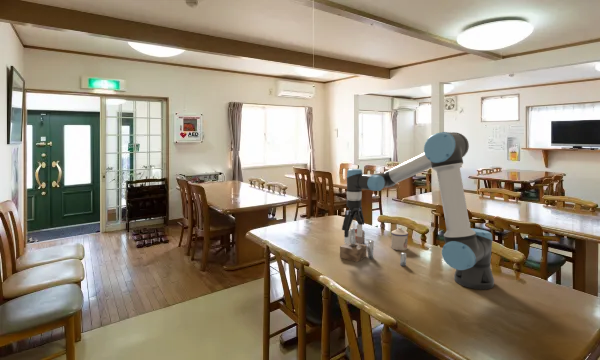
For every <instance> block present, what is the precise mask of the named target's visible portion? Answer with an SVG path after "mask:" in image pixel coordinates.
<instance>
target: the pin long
mask: <svg viewBox="0 0 600 360" xmlns="http://www.w3.org/2000/svg"><path fill="white" fill-rule="evenodd" d="M355 229H356V228H355V227H353V228H351V227H350V229H349V231H350V247H355Z"/></svg>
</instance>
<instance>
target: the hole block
mask: <svg viewBox="0 0 600 360" xmlns="http://www.w3.org/2000/svg"><path fill="white" fill-rule="evenodd" d="M365 257H367V244H364V243H363V244H359V243H355V247H350V244H348V243H343V244H342V245H341V246H339V258H340V259H345V260H348V261H352V262H355V263H358V262H359V261H361V260H363V259H364V258H365Z"/></svg>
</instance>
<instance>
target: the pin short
mask: <svg viewBox="0 0 600 360" xmlns="http://www.w3.org/2000/svg"><path fill="white" fill-rule="evenodd" d="M406 265H407V252H403V251H402V252H400V266H401V267H407V266H406Z"/></svg>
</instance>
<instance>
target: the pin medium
mask: <svg viewBox="0 0 600 360" xmlns="http://www.w3.org/2000/svg"><path fill="white" fill-rule="evenodd" d="M367 244H368V247H367V251H368V253H367V259H370V260H373V259H374V248H375V246H374V240H372V239H370V240H368V243H367Z"/></svg>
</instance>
